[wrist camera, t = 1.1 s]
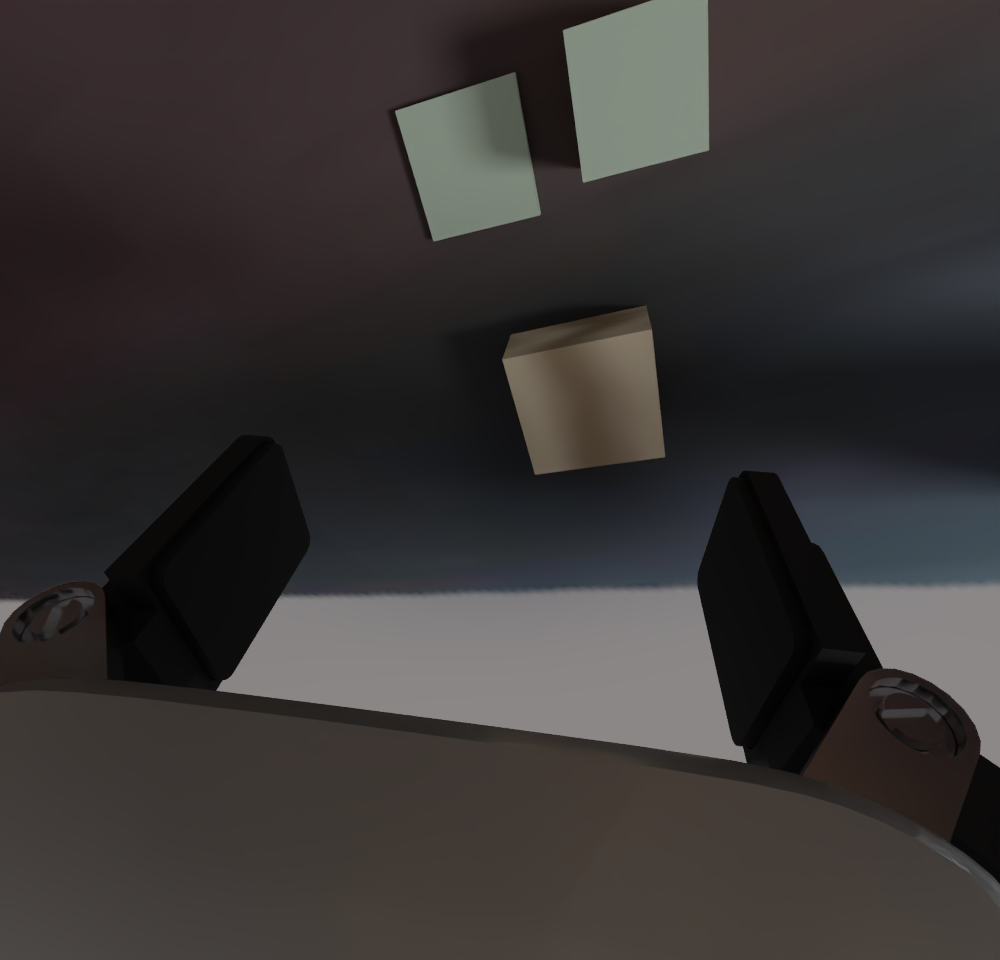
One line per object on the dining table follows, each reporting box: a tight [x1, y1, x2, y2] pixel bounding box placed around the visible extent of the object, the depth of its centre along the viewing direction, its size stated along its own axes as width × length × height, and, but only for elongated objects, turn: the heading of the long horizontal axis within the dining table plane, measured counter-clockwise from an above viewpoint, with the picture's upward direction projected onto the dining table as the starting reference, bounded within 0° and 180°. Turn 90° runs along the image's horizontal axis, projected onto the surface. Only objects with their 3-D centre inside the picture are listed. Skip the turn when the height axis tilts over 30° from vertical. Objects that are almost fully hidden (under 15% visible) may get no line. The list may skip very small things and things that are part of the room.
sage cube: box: [563, 0, 709, 182], centre depth 21 cm, size 5×5×5 cm
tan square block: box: [502, 306, 665, 475], centre depth 31 cm, size 8×8×4 cm
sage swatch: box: [395, 72, 541, 241], centre depth 26 cm, size 6×6×1 cm
